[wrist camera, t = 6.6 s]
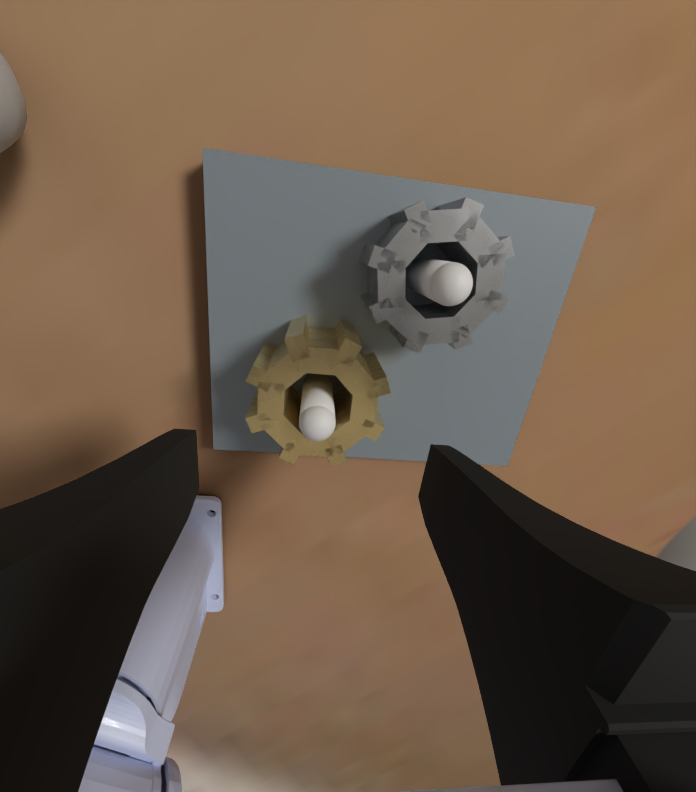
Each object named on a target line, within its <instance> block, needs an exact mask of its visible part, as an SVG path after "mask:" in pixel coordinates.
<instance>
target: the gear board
mask: <svg viewBox="0 0 696 792" xmlns="http://www.w3.org/2000/svg"><path fill="white" fill-rule="evenodd" d="M202 149H203V177H204V204H205V232H206V259H207V287H208V314H209V342H210V369H211V397H212V424H213V449H218V450H235V451H253V452H270V453H280V448H281V446H280V445H279V444H278V443H277V442H276V441H275V440H274V439H273V438H272V437H271V436H270V435H269V434H268V433H267V432H266V431H265V430H262V431H258V432H255V433H251V430H250V428H249V426H248V424H247V422H246V419H245V417H246V415H247V413H248V410H249V408H250V405H251V403H252V401H253V398H254V396H255V394H256V391H257V389H258V387H256V386H254V385H252V384H250V383H247V382H245V381H246V379H247V377H248V375H249V372H250V370H251V368H252V366H253V364H254V362H255V361H256V359H257V357H258V355H259V353H260V351H261V349H262V348H263V346H264V344H265V342H268V343H270V344H272V345H274V346H277V345H278V344H280V343H281V342H282V341H283V340H284V339H285V336H286V333H287V330H288V328H289V325H290V322H291V320H293V319H296V318H299V317H303V316H307V319H308V322H309V325H310V326H313V327H323V328H333V329H335V328H336V326H337V324H338V322H339V320H340V319H341V320H343V321H345V322H347V323H349V324H351V325H352V326H354V328H355V330H356V333H357V335H358V337H359V340H360V342H361V344H362V348H361V350H360V351H361V352H362V353H363V354H366V353H370V352H373V351H374V353H375V355H376V357H377V359H378V361H379V363H380V365H381V367H382V369H383V370H384V372H385V374H386V376H387V380H388V384H389V388H390V392H391V393H390V394H386V395H383V396H379V397H378V402H377V408H378V410H379V413H380V416H381V419H382V422H383V424H384V427H385V428H384V430H383V431H382V433H381V434H380V436H379V437H378V439H377V440H376V441H374V440H372V439H370V438H368V437H364V438H363V439H361V440H360V441H358V442H357V443H356V444H354V445H353V446H352V447H350V448H349V449H347V450H346V451H345V452H346V457H358V458H375V459H393V460H411V461H427V458H428V454H429V449H430V445H431V444H434V445H449V446H451V447H453V448H455V449H456V450H458V451H460V452H461V453H463V454H464V455H466V456H467V457H468V458H470V459H471V460H473V461H474V462H476V463H477V464H481V465H498V466H508V463H509V460H510V457H511V454H512V451H513V448H514V446H515V443H516V440H517V437H518V434H519V431H520V428H521V425H522V422H523V419H524V416H525V413H526V410H527V408H528V405H529V402H530V399H531V396H532V393H533V390H534V387H535V384H536V381H537V378H538V375H539V372H540V370H541V367H542V364H543V361H544V358H545V355H546V352H547V349H548V346H549V343H550V340H551V337H552V334H553V332H554V329H555V326H556V323H557V320H558V317H559V314H560V311H561V308H562V305H563V302H564V299H565V296H566V294H567V291H568V288H569V285H570V282H571V279H572V276H573V273H574V270H575V267H576V264H577V261H578V259H579V256H580V253H581V250H582V247H583V244H584V241H585V238H586V235H587V232H588V229H589V226H590V223H591V221H592V218H593V215H594V212H595V209H596V207H593V206H586V205H580V204H573V203H566V202H560V201H553V200H546V199H540V198H533V197H526V196H520V195H513V194H506V193H500V192H493V191H486V190H480V189H473V188H466V187H460V186H453V185H447V184H440V183H433V182H427V181H420V180H413V179H407V178H400V177H393V176H387V175H380V174H373V173H367V172H360V171H353V170H347V169H340V168H334V167H327V166H320V165H314V164H307V163H300V162H294V161H287V160H280V159H274V158H267V157H260V156H254V155H247V154H240V153H234V152H227V151H220V150H214V149H207V148H202ZM465 197H467V198H469V199H471V200H474V201H476V202H478V203H480V204H483V205H484V207H483V209H482V212H481V214H480V218H481V219H482V220H483V221H484V222H485V224H486V225H487V226H488V227H489V228H490V229H491V231H492V232H493V233H494V234H495V235H496V237H500V236H510V239H511V242H512V246H513V250H514V254H515V256H513V257H511V258H509V259H507V260H505V269H504V278H503V287H502V294H504V295H507V296H510V298H509V300H508V302H507V304H506V306H505V308H504V310H503V312H502V314H501V315H500V314H498V313H495V312H492V313H491V314H490V315H489V316H488V317H487V318H486V319H485V320H484V321H483V322H482V323H481V324H480V325H479V326H478V327H477V328H476V329H475V330H474V331H473V332H472V333H471V334H470V336H471V339H472V342H473V343H471V344H469V345H467V346H465V347H463V348H461V349H459V350H455V349H453V348H452V347H451V346H449V345H448V344H447V343H443V344H431V345H424V346H423V348H422V350H421V353H417V352H414V351H411V350H408V349H405V348H403V347H402V345H401V344H400V343H399V342H398V340H397V339H396V338H395V337H394V336H393V334H392V333H391V332H390V328H391V324H390V323H389V322H388V321H387V320H384V321H382V322H380V323H378V324H377V323H376V322H375V320H374V319H373V318H372V316H371V315H370V314H369V312H368V311H367V309H366V307H365V305H364V302H363V300H362V298H361V295H363V294H365V293H367V292H368V284H367V265H366V264H363V263H361V262H359V260H360V257H361V254H362V251H363V248H364V245H375V244H376V243H377V242H378V240H379V239H380V238H381V237H382V236H383V235H384V233H385V232H386V231H387V230H388V229H389V227H390V226H391V223H390V220H389V218H388V216H390V215H392V214H393V213H395V212H397V211H399V210H401V209H403V208H405V207H407V206H410V205H412V204H415V203H417V202H419V201H422V200H424V202H425V205H426V208H427V211H430V210H437V207H438V206H440V205H443V204H446V203H449V202H452V201H455V200H459V199H462V198H465ZM472 287H473V278H472V275H471V273H470V271H469V269H468V268H467V267H466V266H464V265H462V264H460V263H457V262H450V261H449V259H448V258H447V256H446V255H445V254H444V253H443V252H442V251H441V250H440V249H439V248H438V247H437V246H436V245H435V244H434V243H427V244H426V246H425V247H424V248H423V249H422V250H421V251H420V252H419V254H418V255H417V256H416V257H415V258H414V259H413V260H412V261H411V263H410V264H409V265H408V266H407V267H406V289H405V300H406V301H407V302H409V303H410V304H411V305H412V306H413V305H427V304H431V303H432V302H433V301H435V302H437V303H439V304H441V305H444V306H454V305H458V304H460V303H461V302H463V301H464V300H465V299H466V298H467V297H468V296H469V294H470V293H471V290H472ZM292 386H293V387H294V388H295V389H296V390H297V391H298V392H299V393H300V394H301V395H302V398H301V407H300V416H299V428H300V430H301V432H302V434H303V435H304V436H305V437H306V438H308V439H310V440H312V441H322V440H325V439H327V438H328V437H329V436H331V434H332V433H333V431H334V429H335V426H336V419H335V408H334V398H333V396H334V395H335V394H336V393H338V392H339V391H340V390H341V389H343V388H344V385H343V384H342V383H341V381H340V380H339V379H338V378H337V377H336V376H335V375H324V374H312V373H306V374H305V375H303V376H302V377H301V378H300V379H298V380H297V381H296V382H295V383H293V384H292Z"/></svg>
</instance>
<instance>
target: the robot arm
mask: <svg viewBox="0 0 696 792" xmlns="http://www.w3.org/2000/svg"><path fill="white" fill-rule="evenodd" d="M198 489H199V473H198V455H197V437H196V430H188V429H173V430H171V431H168V432H166V433H164V434H162V435H161V436H159V437H157V438H155V439H153V440H151V441H150V442H148V443H146V444H144V445H142V446H140V447H139V448H137V449H135V450H133V451H131V452H129V453H128V454H126V455H124V456H122V457H120V458H118V459H116V460H115V461H112V462H110V463H108V464H106V465H104V466H102V467H100V468H98V469H96V470H94V471H92V472H90V473H88V474H86V475H84V476H82V477H80V478H78V479H76V480H74V481H71V482H69V483H67V484H65V485H62V486H60V487H58V488H55V489H53V490H50V491H48V492H45V493H43V494H40V495H38V496H36V497H33V498H30V499H28V500H25V501H23V502H20V503H17V504H14V505H11V506H8V507H5V508H2V509H0V792H182V784H181V774H180V771H179V767H178V765H177V764H176V762H175V761H174V760H173V759H171V758H168V757H166V754H167V751H168V748H169V744H170V741H171V737H172V734H173V731H174V727H175V725H174V723H172V722H171V721H172V719H173V717H174V715H175V712H176V710H177V707H178V705H179V702H180V698H181V695H182V692H183V688H184V685H185V682H186V679H187V675H188V672H189V669H190V665H191V662H192V659H193V656H194V652H195V649H196V646H197V642H198V639H199V636H200V633H201V629H202V626H203V623H204V619H205V616H206V613H207V612H218V611H221V610H222V609H223V606H224V574H223V538H222V503H221V500H220V499H219V498H217V497H215V496H199V495H197V492H198ZM418 497H419V501H420V506H421V510H422V514H423V518H424V522H425V525H426V528H427V531H428V533H429V536H430V538H431V541H432V543H433V546H434V549H435V551H436V554H437V556H438V558H439V561H440V563H441V566H442V568H443V571H444V573H445V576H446V578H447V581H448V583H449V586H450V588H451V591H452V594H453V597H454V599H455V602H456V605H457V608H458V612H459V615H460V618H461V622H462V625H463V629H464V632H465V636H466V639H467V643H468V646H469V650H470V654H471V658H472V662H473V665H474V669H475V673H476V677H477V681H478V685H479V689H480V693H481V697H482V701H483V706H484V710H485V714H486V718H487V722H488V727H489V731H490V735H491V740H492V745H493V749H494V754H495V759H496V764H497V768H498V773H499V778H500V782H501V786H480V787H462V788H445V789H428V790H410V791H393V792H696V571H693V570H690V569H687V568H684V567H681V566H677V565H674V564H672V563H669V562H666V561H664V560H661V559H659V558H656V557H653V556H651V555H648V554H645V553H643V552H640V551H638V550H635V549H633V548H630V547H628V546H625V545H623V544H620V543H618V542H616V541H613V540H611V539H609V538H607V537H604V536H602V535H600V534H598V533H596V532H593V531H591V530H589V529H587V528H585V527H583V526H580V525H578V524H576V523H574V522H572V521H570V520H568V519H566V518H565V517H563V516H561V515H559V514H557V513H555V512H553V511H551V510H550V509H548V508H546V507H544V506H542V505H541V504H539V503H537V502H535V501H534V500H532V499H530V498H529V497H527V496H525V495H524V494H522V493H521V492H519V491H517V490H516V489H514V488H513V487H511V486H510V485H508V484H506V483H505V482H503V481H502V480H500V479H499V478H497V477H496V476H495V475H493V474H492V473H490V472H489V471H487V470H486V469H484V468H483V467H481V466H480V465H479V464H477V463H476V462H474V461H473V460H471V459H470V458H468V457H467V456H466V455H464V454H463V453H461V452H460V451H458V450H456V449H455V448H453V447H451V446H449V445H434V444H431V445H430V449H429V454H428V458H427V462H426V466H425V471H424V475H423V479H422V483H421V488H420V492H419V496H418ZM209 510H213V511H215V512H214V513H213V512H210V511H209Z"/></svg>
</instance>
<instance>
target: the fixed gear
mask: <svg viewBox="0 0 696 792" xmlns="http://www.w3.org/2000/svg"><path fill="white" fill-rule="evenodd" d="M483 207H484V205H483V204H480V203H478V202H476V201H474V200H471V199H469V198H467V197H465V198H462V199H459V200H455V201H452V202H449V203H446V204H443V205H440V206H438V207H437V210H430V211H427V208H426V205H425V202H424V200H422V201H419V202H417V203H415V204H412V205H410V206H407V207H405V208H403V209H401V210H399V211H397V212H395V213H393V214H392V215H390V216H388V218H389V220H390V223H391V226H390V227H389V229H388V230H387V231H386V232H385V233H384V235H383V236H382V237H381V238H380V239H379V240H378V242H377V243H376V244H375V245H364V248H363V251H362V254H361V257H360V260H359V262H361V263H363V264H366V265H367V284H368V292H367V293H365V294H363V295H361V298H362V300H363V302H364V305H365V307H366V309H367V311H368V312H369V314H370V315H371V316H372V318H373V319H374V320H375V322H376V323H377V324H378V323H380V322H382V321H384V320H387V321H388V322H389V323H390V324H391V328H390V332H391V333H392V334H393V336H394V337H395V338H396V339H397V340H398V342H399V343H400V344H401V345H402V347H403V348H405V349H408V350H411V351H414V352H417V353H421V350H422V348H423V346H424V345H431V344H443V343H447V344H448V345H449V346H451V347H452V348H453V349H455V350H459V349H461V348H463V347H465V346H467V345H469V344H471V343H473V342H472V339H471V336H470V334H471V333H472V332H473V331H474V330H475V329H476V328H477V327H478V326H479V325H480V324H481V323H482V322H483V321H484V320H485V319H486V318H487V317H488V316H489V315H490V314H491V313H492V312H495V313H498V314H500V315H501V314H502V312H503V310H504V308H505V306H506V304H507V302H508V300H509V298H510V296H507V295H504V294H502V287H503V278H504V269H505V260H507V259H509V258H511V257H513V256H515V254H514V250H513V246H512V242H511V239H510V236H500V237H496V235H495V234H494V233H493V232H492V231H491V229H490V228H489V227H488V226H487V225H486V224H485V222H484V221H483V220H482V219H481V218H480V214H481V212H482V209H483ZM427 243H434V244H435V245H436V246H437V247H438V248H439V249H440V250H441V251H442V252H443V253H444V254H445V255H446V256H447V258H448V259H449V261H450V262H457V263H460V264H462V265H464V266H466V267H467V268H468V269H469V271H470V273H471V275H472V278H473V287H472V290H471V293H470V294H469V296H468V297H467V298H466V299H465V300H464V301H463V302H461V303H460V304H458V305H454V306H444V305H441V304H439V303H437V302H435V301H433V302H432V303H431V304H427V305H413V306H412V305H411V304H410V303H409V302H407V301H406V300H405V289H406V267H407V266H408V265H409V264H410V263H411V261H412V260H413V259H414V258H415V257H416V256H417V255H418V254H419V252H420V251H421V250H422V249H423V248H424V247H425V246H426V244H427Z"/></svg>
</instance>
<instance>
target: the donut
mask: <svg viewBox="0 0 696 792" xmlns="http://www.w3.org/2000/svg"><path fill="white" fill-rule="evenodd" d="M26 122H27V113H26V105H25V99H24V97H23V95H22V92H21V90H20V88H19V85H18V83H17V81H16V78H15V76H14V74H13V71H12V69H11V67H10V65H9V63H8V62H7V61H6V59H5V58H4V57H3V55H2V54H1V52H0V153H2V152H3V151H4V150H6V149H7V148H9V147H10V146H11V145H13V144H14V143H15V142H16V141H17V140H18V139H19V138H20V137H21V136H22V135H23V132H24V129H25V125H26Z"/></svg>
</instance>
